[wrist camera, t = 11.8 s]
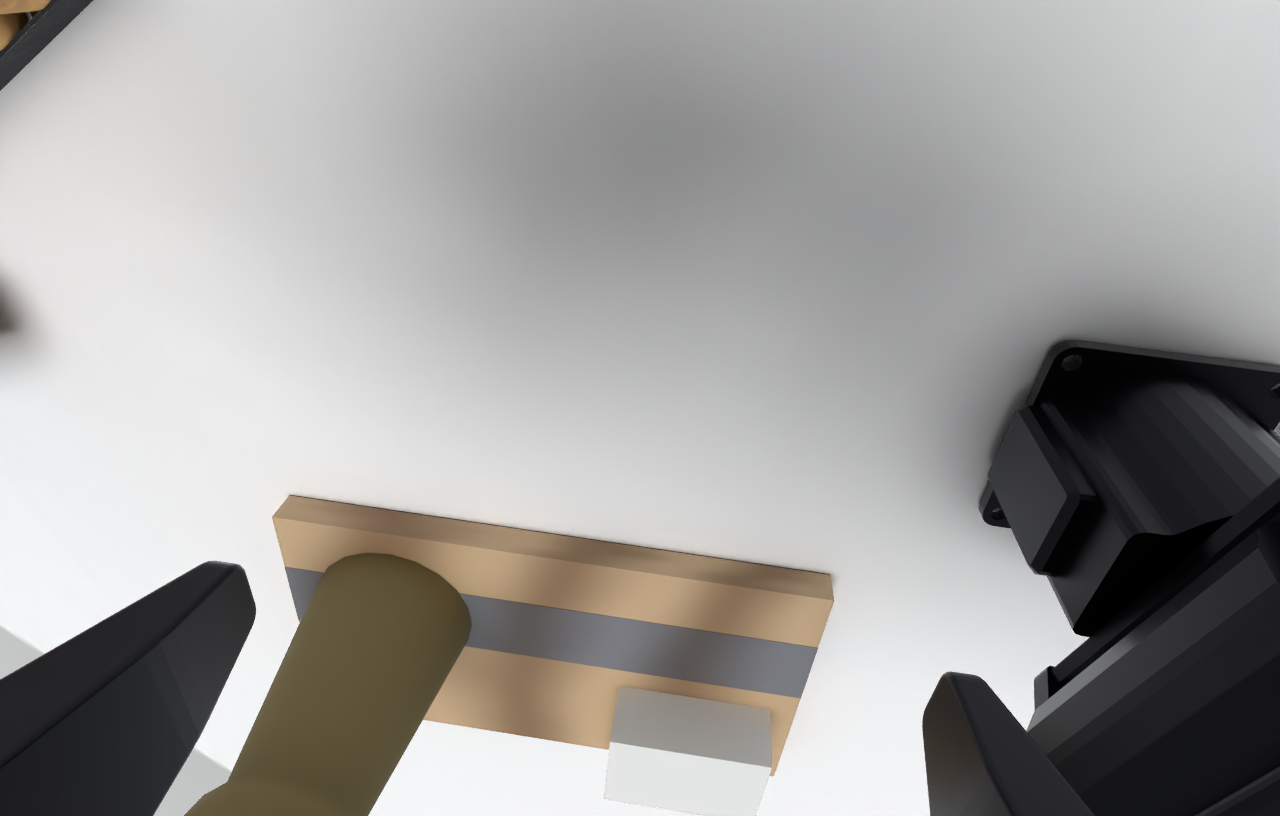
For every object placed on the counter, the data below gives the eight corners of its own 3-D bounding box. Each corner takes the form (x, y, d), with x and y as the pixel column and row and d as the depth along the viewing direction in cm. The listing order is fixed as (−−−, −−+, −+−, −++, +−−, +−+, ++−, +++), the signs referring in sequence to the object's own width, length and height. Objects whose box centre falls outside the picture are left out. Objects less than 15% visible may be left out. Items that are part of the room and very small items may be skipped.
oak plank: (830, 574, 26) (834, 601, 25) (772, 749, 32) (773, 776, 31) (289, 495, 27) (271, 517, 26) (333, 679, 33) (320, 703, 32)
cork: (335, 529, 26) (111, 857, 17) (493, 594, 27) (363, 938, 17) (305, 625, 29) (102, 944, 20) (446, 680, 30) (315, 1009, 21)
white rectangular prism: (769, 709, 28) (771, 768, 26) (752, 766, 31) (753, 823, 29) (619, 685, 29) (609, 741, 27) (612, 743, 31) (603, 799, 29)
